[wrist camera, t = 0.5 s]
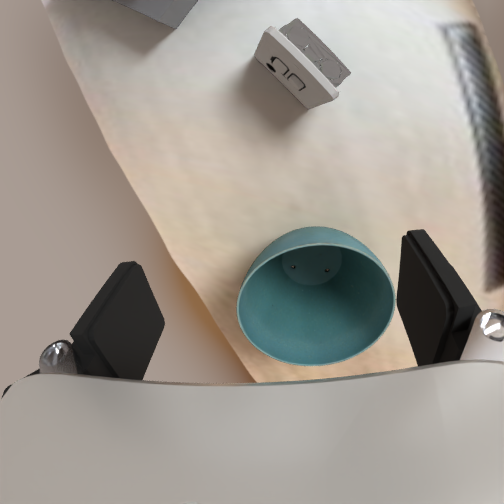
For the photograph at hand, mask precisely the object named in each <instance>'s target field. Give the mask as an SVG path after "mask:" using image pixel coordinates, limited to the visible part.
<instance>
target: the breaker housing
mask: <svg viewBox="0 0 504 504" xmlns="http://www.w3.org/2000/svg"><path fill="white" fill-rule="evenodd" d="M113 1H115V2H117V3H120V4H122V5H124V6H127V7H129V8H131V9H133V10H135V11H138V12H140V13H142V14H144V15H146V16H148V17H150V18H152V19H154V20H156V21H158V22H161V23H163V24H165V25H168V26H170V27H172V28H175V29H177V27H178V26H179V24H180V23H181V22H182V20H183V19H184V18H185V16H186V15H187V14H188V12H189V11H190V10H191V9H192V7H193V6H194V5H195V3H196V2H197V1H198V0H113Z"/></svg>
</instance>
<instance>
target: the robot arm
mask: <svg viewBox="0 0 504 504" xmlns="http://www.w3.org/2000/svg"><path fill="white" fill-rule="evenodd" d="M396 300H397V308H398V311H399V313H400V316H401V319H402V321H403V324H404V327H405V329H406V332H407V335H408V338H409V341H410V343H411V346H412V349H413V352H414V355H415V358H416V361H417V364H418V366H417V367H411V368H405V369H399V370H392V371H385V372H378V373H370V374H363V375H355V376H346V377H337V378H327V379H316V380H303V381H287V382H267V383H180V382H158V381H144V380H143V377H144V374H145V372H146V370H147V367H148V365H149V362H150V360H151V357H152V355H153V353H154V350H155V348H156V345H157V343H158V341H159V338H160V336H161V333H162V331H163V329H164V325H165V322H164V318H163V315H162V313H161V311H160V309H159V306H158V304H157V302H156V299H155V297H154V295H153V292H152V290H151V288H150V286H149V283H148V281H147V278H146V276H145V273H144V271H143V269H142V267H141V265H139V264H137V263H136V262H135V261H131V262H122V263H120V264H119V265H118V267H117V268H116V269H115V271H114V272H113V273H112V275H111V276H110V277H109V279H108V280H107V281H106V283H105V284H104V285H103V287H102V288H101V290H100V291H99V292H98V294H97V295H96V296H95V298H94V300H93V301H92V302H91V304H90V305H89V306H88V308H87V309H86V311H85V312H84V313H83V315H82V316H81V318H80V319H79V321H78V322H77V324H76V325H75V327H74V328H73V330H72V331H71V332H70V335H71V337H72V339H73V340H74V342H73V343H72V344H71V343H70V342H69V341H68V340H58V341H56V342H54V343H52V344H51V345H49V346H48V347H47V348H46V349H45V350H44V351H43V353H42V354H41V356H40V361H39V366H40V369H38V370H37V371H35V372H33V373H31V374H30V375H28V376H26V377H24V378H22V379H20V380H18V381H17V382H15V383H14V384H12V385H10V386H8V387H7V388H6V389H5V390H4V393H3V396H2V399H1V401H0V504H504V312H503V311H501V310H496V309H487V310H484V311H481V309H480V307H479V306H478V304H477V303H476V301H475V299H474V298H473V296H472V295H471V293H470V292H469V290H468V289H467V287H466V285H465V284H464V282H463V281H462V280H461V278H460V277H459V275H458V274H457V272H456V271H455V269H454V268H453V267H452V266H451V265H450V264H449V262H448V261H447V260H446V258H445V257H444V255H443V254H442V253H441V251H440V250H439V249H438V247H437V246H436V245H435V243H434V242H433V241H432V239H431V238H430V237H429V235H428V234H427V233H426V231H425V230H424V229H421V230H411V231H408V232H407V235H404V236H403V237H402V244H401V259H400V270H399V281H398V290H397V299H396Z"/></svg>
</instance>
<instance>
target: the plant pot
mask: <svg viewBox="0 0 504 504" xmlns="http://www.w3.org/2000/svg"><path fill="white" fill-rule="evenodd" d="M293 265H294V266H295V268H291V266H293ZM325 269H329V271H328V272H326V271H325ZM395 302H396V299H395V290H394V286H393V283H392V281H391V279H390V277H389V275H388V273H387V271H386V269H385V268H384V266H383V265H382V263H381V262H380V261H379V259H378V258H377V257H376V256H375V255H374V254H373V253H372V252H371V251H370V250H369V249H368V248H367V247H366V246H365V245H364V244H362V243H361V242H360V241H358V240H357V239H355V238H354V237H352V236H350V235H348V234H346V233H344V232H342V231H339V230H336V229H332V228H327V227H305V228H300V229H297V230H294V231H291V232H289V233H287V234H285V235H283V236H281V237H279V238H278V239H276V240H275V241H274V242H272V243H271V244H270V245H269V246H268V247H266V248H265V249H264V250H263V251H262V253H261V254H260V255H259V256H258V257H257V259H256V260H255V261H254V263H253V264H252V266H251V267H250V269H249V271H248V272H247V274H246V276H245V278H244V281H243V283H242V286H241V288H240V292H239V295H238V299H237V307H236V311H237V318H238V322H239V325H240V328H241V330H242V332H243V333H244V335H245V336H246V338H247V339H248V340H249V341H250V343H251V344H252V345H253V346H254V347H256V348H257V349H258V350H259V351H261V352H262V353H264V354H265V355H267V356H269V357H271V358H273V359H276V360H278V361H281V362H284V363H288V364H293V365H300V366H323V365H330V364H335V363H339V362H342V361H345V360H348V359H350V358H353V357H355V356H357V355H358V354H360V353H362V352H364V351H365V350H367V349H368V348H369V347H371V346H372V345H373V344H374V343H375V342H376V341H377V340H378V339H379V338H380V337H381V336H382V335H383V333H384V332H385V331H386V329H387V327H388V326H389V324H390V322H391V320H392V317H393V314H394V310H395Z"/></svg>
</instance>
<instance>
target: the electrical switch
mask: <svg viewBox="0 0 504 504" xmlns="http://www.w3.org/2000/svg"><path fill="white" fill-rule="evenodd" d="M286 34H287V36H286ZM308 44H309V45H308ZM307 45H308V47H307V48H305V47H306V46H307ZM304 50H305V52H304ZM254 55H255V57H256V59H257V60H258V61H259V62H260V63H262V64H263V65H264V66H265V67H266V68H267V69H268V70H269V71H270V72H271V73H272V74H273V75H274V76H275V77H276V78H277V79H278V80H279V81H280V82H281V83H282V84H283V85H284V86H285V87H286V88H287V89H288V90H289V91H290V92H291V93H292V94H293V95H294V96H295V97H296V98H297V99H298V100H299V101H300V102H301V103H302V104H303V105H304V106H305V107H306V108H307V109H311V108H314V107H316V106H319V105H322V104H324V103H327V102H330V101H333V100H334V99H335V98H337V97H338V96H339V92H338V90H337V89H336V87H337V86H338V85H340V84H341V83H342V81H343V80H344V79H345V78H346V77H347V76H349V75H350V73H351V72H350V71H349V70H348V69H347V67H346V66H345V65H344V64H343V63H342V62H341V61H340V60H339V59H338V58H337V57H336V55H335V54H334V53H333V52H332V51H331V50H330V49H329V48H328V47H327V46H326V45H325V44H324V43H323V42H322V41H321V40H320V39H319V38H318V37H317V36H316V35H315V34H314V33H313V32H312V31H311V30H310V29H309V28H308V27H307V26H306V25H305V24H303V23H302V22H301V21H300V20H299V19H298V18H297V19H294V20H293V21H292V22H291V23H289V24H288V25H285V26H283V27H282V28H281V29H279V30H277V29H276V28H275V27H272V26H270V27H269V28H268V29H267V30H265V31H264V33H263V35H262V38H261V40H260V42H259V44H258V47H257V49H256V51H255V54H254ZM321 58H322V59H321ZM320 59H321V60H320ZM326 59H327V60H326ZM316 62H317V63H316ZM320 66H321V68H320ZM340 73H341V74H340ZM331 79H333V80H331Z"/></svg>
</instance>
